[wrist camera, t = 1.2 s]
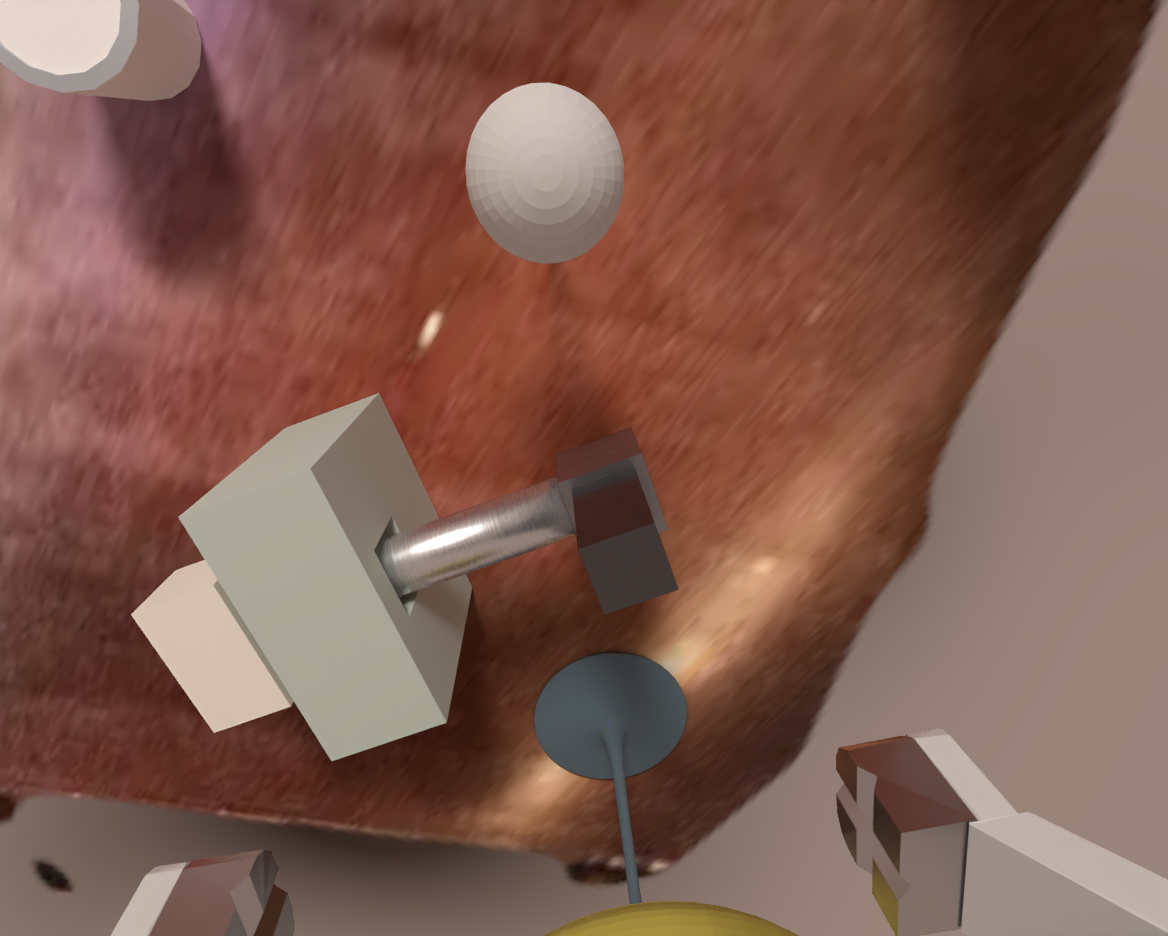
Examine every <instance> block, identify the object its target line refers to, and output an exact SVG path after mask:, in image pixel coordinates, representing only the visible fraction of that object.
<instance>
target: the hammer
mask: <svg viewBox="0 0 1168 936" xmlns="http://www.w3.org/2000/svg"><path fill="white" fill-rule="evenodd" d="M556 466H557V477H554V478H551V479H549V480H546V481H543V482H540V483H537V484H535V485H532V486H529V487H526V488H523V489H521V490H518V491H515V492H512V493H509V494H507V495H504V496H501V497H498V498H495V499H493V500H490V501H487V502H484V503H481V504H479V505H476V506H473V507H470V508H467V509H465V510H462V511H459V512H456V513H453V514H451V515H448V516H445V517H442V518H439V519H437V520H434V521H431V522H428V523H425V524H423V525H420V526H417V527H414V528H411V529H409V530H406V531H403V532H400V533H397V534H395V535H392V536H389V537H386V538H384V539H381V540H379V542H378V544H377V546H376V548H375V550H374V552H375V554H376V556H377V557H378V559H379V561H380V563H381V565H382V567H383V569H384V571H385V573H386V575H387V576H388V578H389V580H390V582H391V584H392V586H393V588H394V590H395V592H396V594H397V595H398V597H402V596H405V595H407V594H410V593H413V592H416V591H419V590H422V589H424V588H427V587H430V586H433V585H436V584H439V583H442V582H444V581H447V580H450V579H453V578H456V577H459V576H462V575H464V574H467V573H470V572H473V571H476V570H479V569H481V568H484V567H487V566H490V565H493V564H496V563H499V562H501V561H504V560H507V559H510V558H513V557H516V556H519V555H521V554H524V553H527V552H530V551H533V550H536V549H538V548H541V547H544V546H547V545H550V544H553V543H556V542H558V541H561V540H564V539H567V538H570V537H573V536H576V535H577V545H578V551H579V553H580V556H581V558H582V561H583V563H584V565H585V568H586V570H587V573H588V575H589V578H590V580H591V583H592V585H593V588H594V590H595V592H596V595H597V597H598V600H599V602H600V605H601V607H602V610H603V612H604V615H605V614H608V613H611V612H614V611H617V610H620V609H623V608H626V607H629V606H632V605H635V604H638V603H640V602H643V601H646V600H649V599H652V598H655V597H658V596H661V595H664V594H667V593H670V592H673V591H676V590H679V589H678V587H677V584H676V581H675V578H674V575H673V573H672V570H671V567H670V564H669V561H668V559H667V556H666V553H665V550H664V547H663V545H662V542H661V539H660V536H659V533H660V532H663V531H665V530H668V527H667V524H666V521H665V518H664V516H663V513H662V510H661V507H660V504H659V501H658V498H657V496H656V493H655V490H654V487H653V484H652V481H651V478H650V476H649V473H648V470H647V467H646V464H645V461H644V458H643V456H642V453H641V450H640V448H639V446H638V443H637V441H636V438H635V436H634V433H633V431H632V428H628V429H625V430H622V431H620V432H617V433H614V434H611V435H608V436H606V437H603V438H600V439H597V440H595V441H592V442H589V443H586V444H583V445H581V446H578V447H575V448H572V449H570V450H567V451H564V452H561V453H558V454H556Z"/></svg>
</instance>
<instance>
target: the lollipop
mask: <svg viewBox="0 0 1168 936" xmlns="http://www.w3.org/2000/svg"><path fill="white" fill-rule="evenodd" d="M466 181H467V189H468V193H469V197H470V201H471V205H472V207H473V209H474V211H475V213H476V216H477V218H478V220H479V222H480V223H481V225H482V226H483V227H484V229H485V230H486V232H487V233H488V235H489V236H490V237H491V238H492V239H493V240H494V241H495V242H496V243H497V244H499V245H500V246H501V247H502V248H504V249H505V250H507V251H508V252H510V253H511V254H513V255H515V256H517V257H520V258H522V259H525V260H527V261H532V262H537V263H559V262H563V261H567V260H571V259H573V258H576V257H578V256H580V255H582V254H584V253H585V252H587V251H588V250H589V249H591V248H592V247H593V246H594V245H596V244H597V243H598V242H599V241H600V240H601V238H602V237H603V236H604V235H605V234H606V233H607V231H608V230H609V228H610V226H611V224H612V223H613V221H614V219H615V217H616V215H617V212H618V209H619V206H620V203H621V200H622V194H623V187H624V164H623V158H622V153H621V148H620V145H619V143H618V140H617V137H616V135H615V132H614V130H613V129H612V127H611V125H610V123H609V122H608V120H607V118H606V117H605V116H604V114H603V113H602V112H601V111H600V110H599V109H598V108H597V107H596V105H595V104H594V103H592V102H591V101H590V100H588V99H587V98H586V97H584V96H583V95H582V94H580V93H578V92H576V91H574V90H572V89H570V88H568V87H566V86H561V85H557V84H552V83H531V84H527V85H524V86H520V87H516V88H515V89H513V90H511V91H509V92H507V93H505V94H503V95H502V96H501V97H499V98H498V99H497V100H496V101H495V102H493V103H492V104H491V105H490V106H489V107H488V109H487V110H486V111H485V113H484V114H483V115H482V116H481V118H480V119H479V121H478V123H477V125H476V127H475V129H474V131H473V133H472V136H471V139H470V143H469V147H468V150H467V159H466Z"/></svg>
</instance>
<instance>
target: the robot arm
mask: <svg viewBox="0 0 1168 936" xmlns="http://www.w3.org/2000/svg"><path fill="white" fill-rule="evenodd" d="M836 770H837V772H838V773H839V775H840V777H841V779H842V780H843V782H844V784H843V785H842V787H841V788H840V790H839V791H838V792H837V794H836V799H837V814H838V818H839V823H840V827H841V831H842V834H843V837H844V839H845V842H846V844H847V847H848V849H849V851H850V853H851V855H852V857H853V859H854V861H855V862H856V864H857V865H858V866H860V867H861V868H863V869H864V870H866V871H867V872H869V873H870V874H872V894H873V895H874V897H875V899H876V901H877V902H878V904H879V906H880V908H881V910H882V912H883V913H884V915H885V917H886V919H887V921H888V922H889V924H890V926H891V928H892V930H893V931H894V933H895V935H896V936H920V935H926V934H932V933H939V932H945V931H951V930H957V929H961V933H962V934H963V935H965V936H1168V879H1165V878H1163V877H1161V876H1159V875H1157V874H1155V873H1153V872H1151V871H1149V870H1147V869H1145V868H1143V867H1141V866H1139V865H1137V864H1135V863H1132V862H1131V861H1129V860H1127V859H1124V858H1122V857H1120V856H1118V855H1116V854H1114V853H1112V852H1110V851H1108V850H1106V849H1104V848H1102V847H1100V846H1098V845H1096V844H1094V843H1092V842H1090V841H1088V840H1086V839H1084V838H1082V837H1080V836H1077V835H1075V834H1073V833H1071V832H1069V831H1067V830H1065V829H1063V828H1061V827H1059V826H1057V825H1055V824H1053V823H1051V822H1049V821H1047V820H1044V819H1043V818H1041V817H1039V816H1037V815H1034V814H1032V813H1030V812H1026V813H1020V814H1019V813H1017V811H1016V810H1015V809H1014V808H1013V807H1012V805H1011V804H1010V803H1009V802H1008V801H1007V800H1006V799H1005V798H1004V796H1003V795H1002V794H1001V793H1000V792H999V791H998V790H997V789H996V787H995V786H994V785H993V784H992V783H991V782H990V781H989V779H988V778H987V777H986V776H985V775H984V774H983V773H982V772H981V770H980V769H979V768H978V767H977V766H976V765H975V764H974V763H973V762H972V760H971V759H970V758H969V757H968V756H967V755H966V753H965V752H964V751H963V750H962V749H961V748H960V747H959V746H958V744H957V743H956V742H955V741H954V740H953V739H952V738H951V737H950V735H949V734H948V733H947V732H945V731H943V730H941V729H934V730H929V731H924V732H919V733H913V734H908V735H906V736H898V737H893V738H887V739H883V740H877V741H871V742H866V743H861V744H856V745H850V746H845V747H840V748H839V749H838V752H837V755H836ZM278 870H279V868H278V866H277V863H276V861H275V859H274V856H273V854H272V851H267V850H259V851H252V852H245V853H238V854H232V855H226V856H219V857H212V858H205V859H199V860H193V861H192V862H185V863H178V864H172V865H164V866H158V867H155V868H154V869H153V870H152V871H150V872H149V873H148V874H147V875H146V876H145V877H144V878H143V880H142V882H141V883H140V885H139V887H138V889H137V890H136V892H135V894H134V896H133V897H132V899H131V901H130V903H129V904H128V906H127V908H126V910H125V911H124V913H123V915H122V917H121V919H120V920H119V922H118V923H117V925H116V927H115V929H114V931H113V932H112V934H111V936H293V933H294V918H293V909H292V905H291V902H290V899H289V896H288V893H287V892H285V891H284V890H282V889H281V888H279V887H277V886H276V885H275V884H274V881H275V878H276V876H277V873H278Z"/></svg>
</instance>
